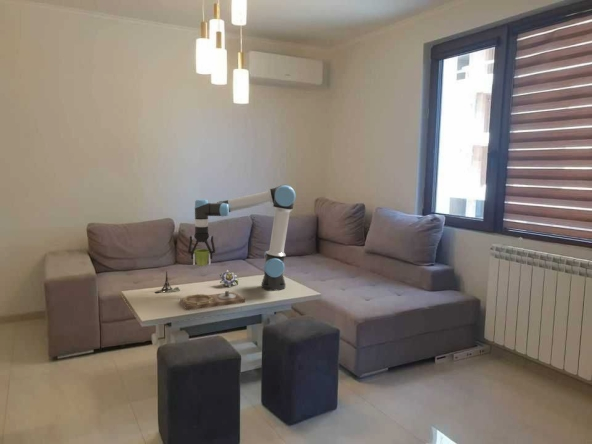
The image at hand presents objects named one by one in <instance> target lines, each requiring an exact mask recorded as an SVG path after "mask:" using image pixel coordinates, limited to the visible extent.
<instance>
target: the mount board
mask: <svg viewBox="0 0 592 444" xmlns="http://www.w3.org/2000/svg"><path fill="white" fill-rule="evenodd" d="M245 302H246V299H245V297H243V296H241V295H240V294H239V293H237V292H235V291H231V292H229V290H226V291H224V292H222V293H215V294H201V293H200V294H198V293H197V294H191V295H190V294H189V295H187V296H185V297H183V298H179V303H180V304H181V305H182V306H183V307H184V308H185V309H186V310H187V311H192V310H197V309H206V308H213V307H221V306H227V305H235V304H242V303H245Z"/></svg>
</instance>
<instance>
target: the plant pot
mask: <svg viewBox="0 0 592 444" xmlns="http://www.w3.org/2000/svg"><path fill="white" fill-rule="evenodd" d="M194 253H195V264H196V265H197V266H198V267H203V266H208V265H209V253H210V252H209V250H208V248H207V249H206V248H201V249H200V248H198V249H197V248H196V249H195V251H194Z"/></svg>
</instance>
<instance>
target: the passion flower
mask: <svg viewBox="0 0 592 444" xmlns="http://www.w3.org/2000/svg"><path fill="white" fill-rule="evenodd" d="M219 276H220V277H219V278H220V279H221V280H220V281H219V283H220V284H223V283H224V286H225V287H228V288H231V285H234V286H235V285H237V286H238V285H239V277H238V275H236V274H235V271H231V272H230V271H229V270H228V269H226V271H225V272H223V273H220V274H219Z"/></svg>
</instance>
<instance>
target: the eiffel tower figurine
mask: <svg viewBox="0 0 592 444" xmlns="http://www.w3.org/2000/svg"><path fill="white" fill-rule="evenodd" d="M180 290H181V289H180V288H179V287H178V286H177V287H174V288H172V286H171V285H170V283H169V278H168V271H167V270H166V271H165V281H164V285H163V286H162V288H161V290H160V291H161V292H163V291H165V292H163V293H174V292H175V293H178V292H180ZM163 293H162V294H163Z"/></svg>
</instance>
